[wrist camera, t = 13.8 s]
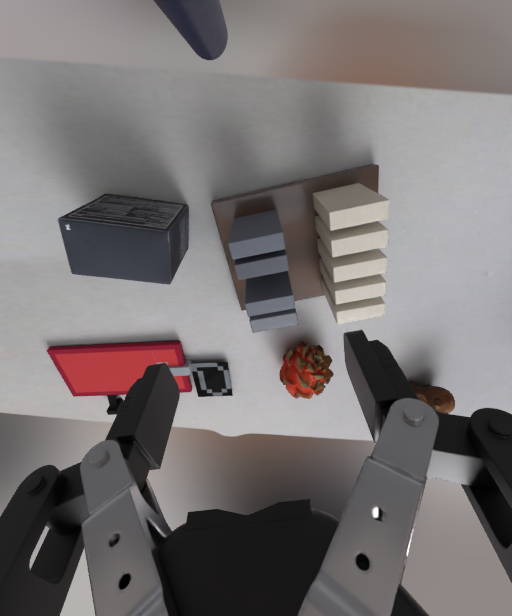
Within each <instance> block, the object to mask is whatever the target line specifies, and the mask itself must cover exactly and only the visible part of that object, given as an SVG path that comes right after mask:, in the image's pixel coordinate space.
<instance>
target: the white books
mask: <svg viewBox="0 0 512 616" xmlns="http://www.w3.org/2000/svg"><path fill="white" fill-rule="evenodd" d="M313 204H314V209H315V210H316V211H317V213H318V214H319V216H315V224H316V231H317V232H318V234H319V236H320V237H321V239H322V241H323V242H324V244H325V246H326V247H327V249H328V251H329V252H330V254H331V256H332V257H337V256H342V255H347V254H352V253H357V252H363V251H368V250H373V249H378V248H383V247H387V246H388V229H387V228H386V227H385V226H383V225H382V224H381V223H379V222H378V221H380V220H385V219H389V199H387V198H385V197H384V196H382V195H380V194H378V193H376V192H374V191H373V190H371V189H369V188H367V187H365V186H363V185H362V184H360V183H356V184H352V185H347V186H343V187H338V188H334V189H329V190H325V191H320V192H316V193H313ZM319 264H320V271H321V273H322V275H323V277H321V283H322V289H323V291H324V294H325V296H326V298H327V301H328V303H329V306H330V308H331V310H332V313H333V315H334V318H335V320H336V322H337V324H341V323H347V322H353V321H359V320H364V319H370V318H376V317H382V316H385V302H384V301H383V300H382V298H381V297H380V296H385V295H386V281H385V280H384V279H383V277H382V276H381V275H380V274H377V275H372V276H367V277H361V278H356V279H351V280H345V281H340V282H334V281H333V279H332V277H331V275H330V273H329V271H328V269H327V267H326V266H325V264H324V262H323V260H322V258H321V259H319Z"/></svg>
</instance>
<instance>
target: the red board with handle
mask: <svg viewBox="0 0 512 616" xmlns="http://www.w3.org/2000/svg"><path fill="white" fill-rule="evenodd" d="M47 352H48V354H49V355H50V357H51V359H52V360H53V362H54V364H55V366H56V367H57V369H58V371H59V373H60V374H61V376H62V378H63V379H64V381H65V383H66V385H67V386H68V388H69V390H70V391H71V393H72V395H73V396H97V395H107V396H108V400H109V404H110V406H109V408H108V410H107V413H108V415H110V414H118V412H119V410H120V409H121V406H122V403H123V399H116V396H115V395H124V394H127V393H128V391H129V389H130V387H131V386H132V385H133V384H134V383H135V382H136V380H137V379H138V378H142V376H143V374H144V372H145V369H146V367H147V366H148V365H153V364H159V363H166V364H167V365H168V367H169V369H170V371H171V373H172V374H173V376H174V378H175V380H176V382H177V384H178V386H179V392H191V391H192V385H191V381H190V378H189V375H191V374H192V373H193V377H194V381H195V385H196V389H197V393H198V397H205V396H233V395H232V388H231V382H230V375H229V369H228V362H219V363H194V364H192V361H191V360H185V358H184V354H183V350H182V346H181V343H180V341H171V342H148V343H126V344H104V345H81V346H59V347H50V348H49V349H48V350H47Z"/></svg>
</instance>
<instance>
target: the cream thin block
mask: <svg viewBox="0 0 512 616" xmlns="http://www.w3.org/2000/svg"><path fill="white" fill-rule="evenodd" d="M317 244H318V252H319V254H320V256H321V258H322V260H323V262H324V264H325V266H326V267H327V269H328V271H329V273H330V275H331V277H332V279H333V281H334V282H340V281H345V280H351V279H356V278H361V277H367V276H372V275H377V274H383V273H387V257H386V256H385V255H384V254H383V253H382V252H381V251H380V250H379V249H373V250H368V251H363V252H357V253H352V254H347V255H342V256H337V257H332V256H331V254H330V252H329V251H328V249H327V247H326V246H325V244H324V242H323V241H322V239H321V238H319V239H317Z"/></svg>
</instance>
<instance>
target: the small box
mask: <svg viewBox="0 0 512 616" xmlns="http://www.w3.org/2000/svg"><path fill="white" fill-rule="evenodd" d="M188 218H189V207H188V205H186V204H179V203H172V202H164V201H157V200H149V199H142V198H135V197H127V196H120V195H112V194H104V195H102V196H100V197H99V198H97V199H95V200H93V201H92V202H90V203H88V204H86V205H83V206H82V207H79V208H78V209H76V210H74V211H72V212H70V213H68V214H66V215H64V216H62V217H60V218H58V223H59V226H60V230H61V234H62V238H63V242H64V246H65V250H66V253H67V258H68V261H69V265H70V269H71V273H72V274H77V275H86V276H96V277H105V278H115V279H124V280H133V281H143V282H152V283H161V284H171V282H172V280H173V277H174V275H175V273H176V271H177V269H178V267H179V265H180V263H181V261H182V259H183V257H184V255H185V253H186V251H187V250H188Z"/></svg>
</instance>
